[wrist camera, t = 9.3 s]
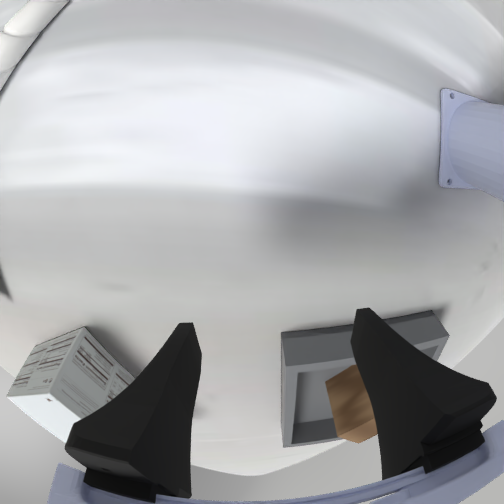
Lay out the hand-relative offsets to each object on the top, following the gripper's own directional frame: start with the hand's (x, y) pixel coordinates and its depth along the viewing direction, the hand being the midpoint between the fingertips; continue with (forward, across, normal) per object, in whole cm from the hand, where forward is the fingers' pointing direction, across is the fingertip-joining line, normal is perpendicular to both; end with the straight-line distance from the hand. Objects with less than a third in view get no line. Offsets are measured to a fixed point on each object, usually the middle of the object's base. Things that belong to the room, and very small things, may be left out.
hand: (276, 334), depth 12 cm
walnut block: (+9, -9, +17) cm, 21 cm away
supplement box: (+10, +22, +18) cm, 30 cm away
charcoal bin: (+9, -9, +18) cm, 22 cm away
